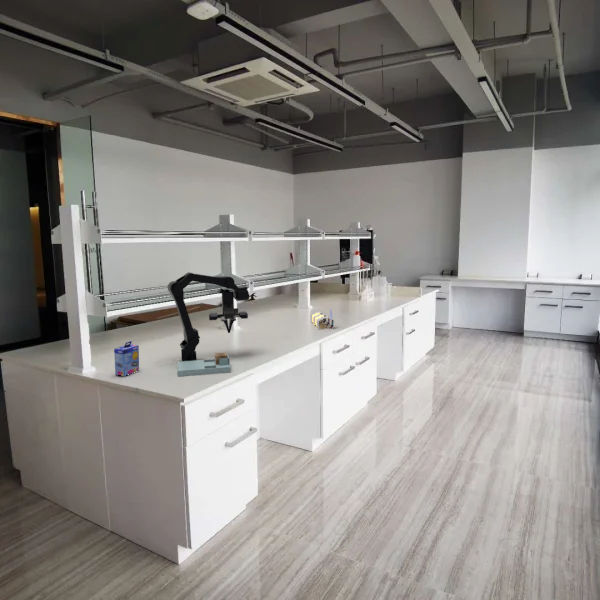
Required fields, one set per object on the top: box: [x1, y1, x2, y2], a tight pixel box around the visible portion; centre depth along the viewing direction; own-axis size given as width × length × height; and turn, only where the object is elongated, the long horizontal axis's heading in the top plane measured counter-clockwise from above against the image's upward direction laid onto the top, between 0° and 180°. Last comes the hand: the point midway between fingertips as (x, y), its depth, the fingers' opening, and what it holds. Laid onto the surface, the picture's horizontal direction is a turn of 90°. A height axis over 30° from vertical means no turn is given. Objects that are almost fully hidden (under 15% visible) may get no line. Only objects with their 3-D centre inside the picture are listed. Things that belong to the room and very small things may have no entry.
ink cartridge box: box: [113, 340, 140, 377], centre depth 198 cm, size 10×6×14 cm, turn 159°
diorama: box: [310, 308, 335, 330], centre depth 301 cm, size 25×10×13 cm, turn 10°
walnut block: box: [214, 352, 228, 365], centre depth 205 cm, size 5×5×4 cm
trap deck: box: [176, 353, 231, 377], centre depth 203 cm, size 22×15×6 cm, turn 104°
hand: (228, 332), depth 224 cm, fingers closed
